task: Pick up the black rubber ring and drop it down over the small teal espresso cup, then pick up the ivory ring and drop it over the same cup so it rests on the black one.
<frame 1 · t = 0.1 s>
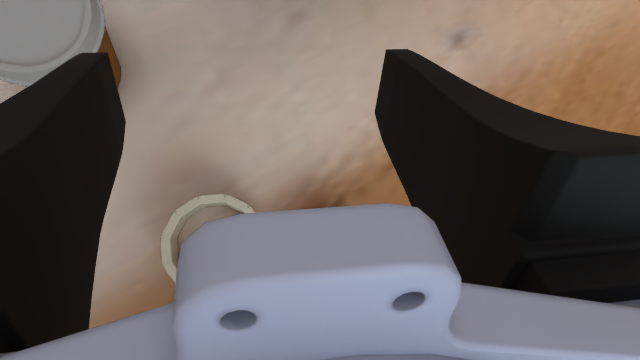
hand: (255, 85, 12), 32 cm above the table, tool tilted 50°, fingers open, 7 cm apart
ivory ring: (217, 244, 43), on the table
disposable coffee cup: (86, 74, 43), on the table
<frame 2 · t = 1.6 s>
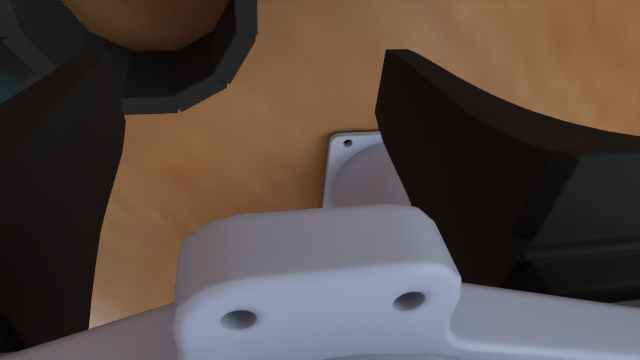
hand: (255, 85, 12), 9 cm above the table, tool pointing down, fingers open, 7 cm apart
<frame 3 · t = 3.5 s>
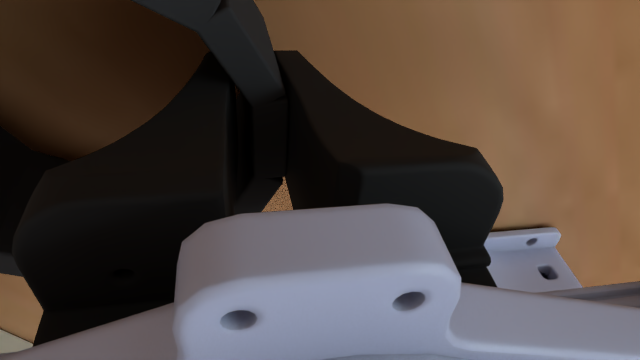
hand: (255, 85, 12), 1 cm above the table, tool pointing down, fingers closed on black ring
black ring: (105, 65, 12), on the table, touching gripper
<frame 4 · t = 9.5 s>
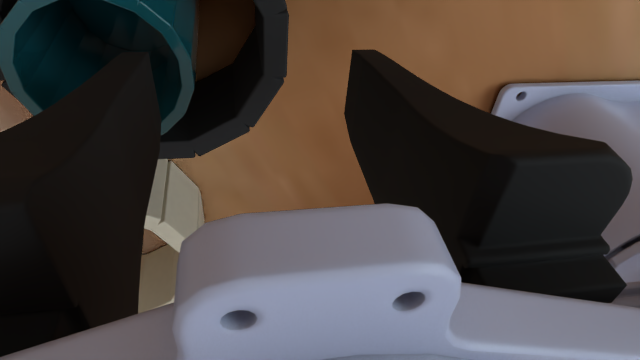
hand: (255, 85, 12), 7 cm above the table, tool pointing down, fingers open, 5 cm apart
ivory ring: (114, 210, 23), on the table
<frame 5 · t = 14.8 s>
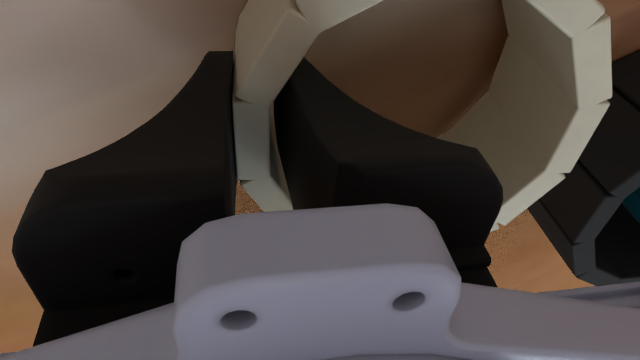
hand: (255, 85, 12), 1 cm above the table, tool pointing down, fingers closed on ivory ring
espresso cup: (639, 125, 18), on the table
ivory ring: (385, 62, 14), on the table, touching gripper
black ring: (624, 141, 18), on the table
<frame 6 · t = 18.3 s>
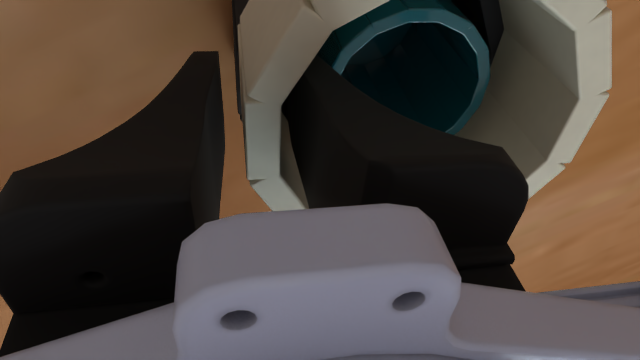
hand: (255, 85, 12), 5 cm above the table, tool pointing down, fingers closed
espresso cup: (357, 8, 17), on the table
ivory ring: (385, 59, 14), point 4 cm above the table, touching black ring
black ring: (350, 29, 17), on the table, touching ivory ring
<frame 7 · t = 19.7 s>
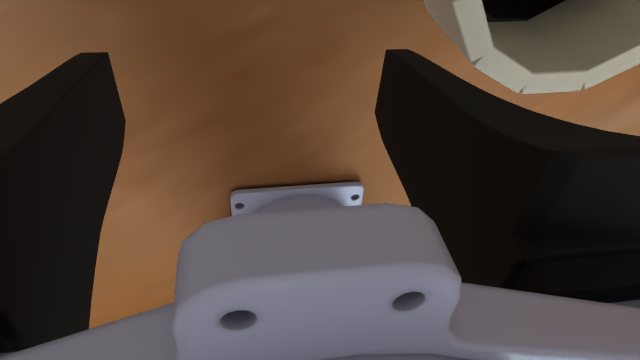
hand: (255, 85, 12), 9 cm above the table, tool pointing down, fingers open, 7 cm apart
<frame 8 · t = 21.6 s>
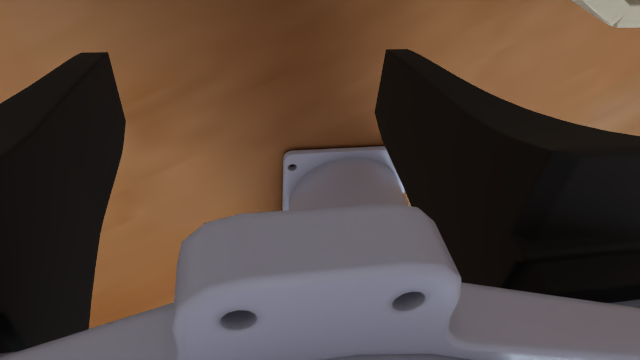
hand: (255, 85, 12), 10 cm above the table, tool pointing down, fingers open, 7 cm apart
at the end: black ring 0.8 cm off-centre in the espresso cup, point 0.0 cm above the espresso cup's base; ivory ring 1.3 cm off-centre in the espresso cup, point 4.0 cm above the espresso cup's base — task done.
